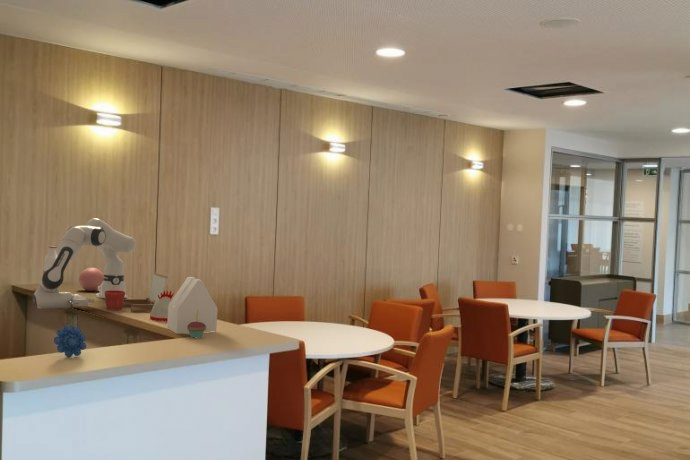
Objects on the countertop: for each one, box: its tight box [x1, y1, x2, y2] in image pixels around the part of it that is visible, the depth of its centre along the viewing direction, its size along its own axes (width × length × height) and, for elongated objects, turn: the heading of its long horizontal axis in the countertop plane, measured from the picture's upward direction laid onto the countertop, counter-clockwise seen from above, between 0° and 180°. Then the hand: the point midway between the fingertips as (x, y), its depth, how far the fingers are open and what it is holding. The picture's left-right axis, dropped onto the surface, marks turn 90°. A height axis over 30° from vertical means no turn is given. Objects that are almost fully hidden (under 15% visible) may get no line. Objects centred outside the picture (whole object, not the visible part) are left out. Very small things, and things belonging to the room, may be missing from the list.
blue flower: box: [53, 324, 87, 358], centre depth 250 cm, size 12×7×12 cm, turn 125°
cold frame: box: [122, 297, 156, 313], centre depth 382 cm, size 23×16×5 cm
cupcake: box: [187, 312, 206, 338], centre depth 308 cm, size 9×8×12 cm
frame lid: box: [147, 272, 168, 302], centre depth 387 cm, size 21×15×1 cm
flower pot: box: [104, 290, 125, 311], centre depth 375 cm, size 11×11×10 cm
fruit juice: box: [42, 245, 58, 275], centre depth 440 cm, size 9×9×28 cm
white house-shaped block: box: [166, 276, 219, 335], centre depth 325 cm, size 19×15×25 cm
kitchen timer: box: [149, 290, 175, 322], centre depth 353 cm, size 14×14×15 cm
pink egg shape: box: [78, 267, 105, 292], centre depth 447 cm, size 15×20×15 cm
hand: (93, 300), depth 369 cm, fingers closed
